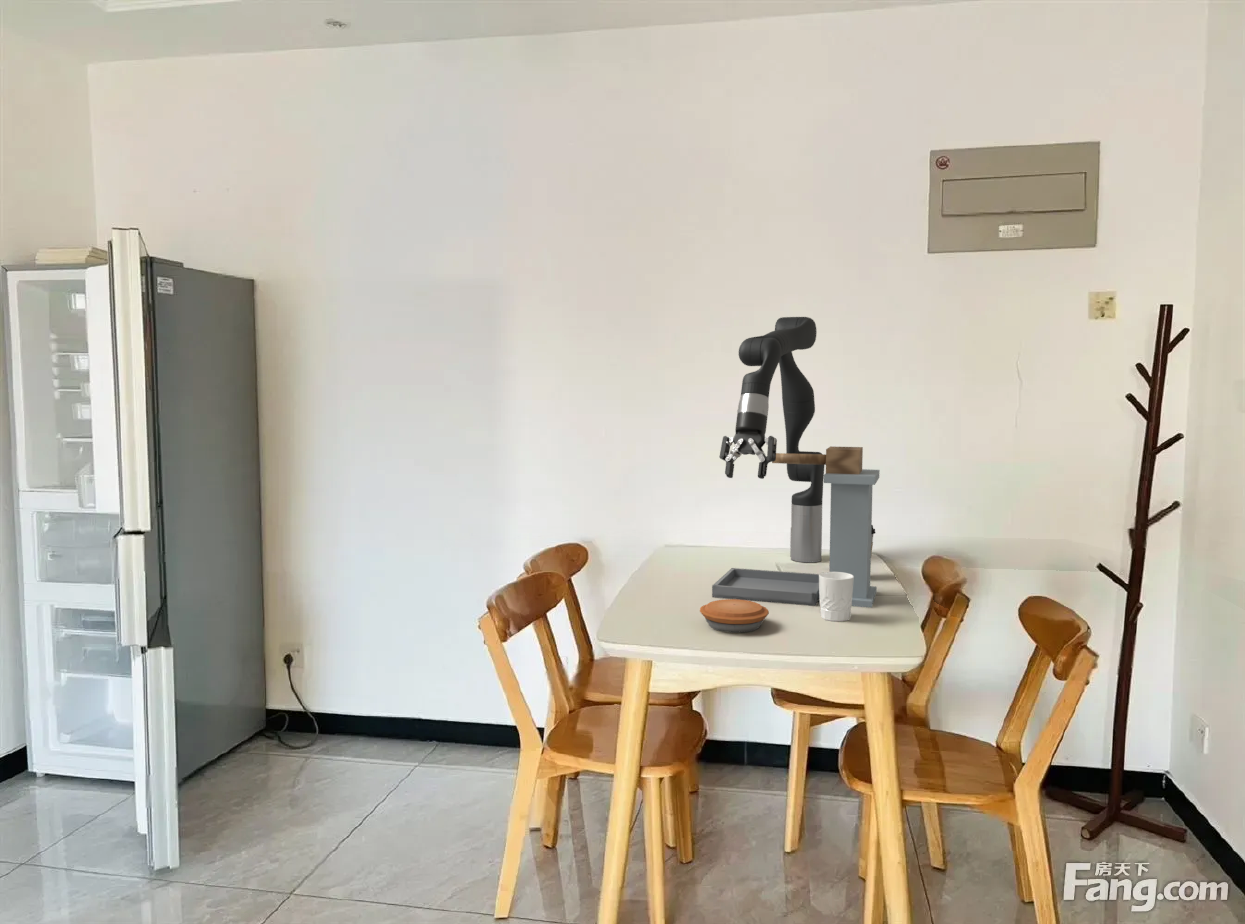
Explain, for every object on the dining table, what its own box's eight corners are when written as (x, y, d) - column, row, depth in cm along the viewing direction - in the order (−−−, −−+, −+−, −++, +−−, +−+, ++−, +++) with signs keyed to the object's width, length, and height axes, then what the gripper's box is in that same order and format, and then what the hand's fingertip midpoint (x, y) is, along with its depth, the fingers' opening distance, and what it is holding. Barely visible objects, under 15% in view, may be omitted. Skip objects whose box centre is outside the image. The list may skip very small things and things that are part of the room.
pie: (780, 632, 191) (781, 610, 191) (715, 638, 187) (715, 616, 187) (751, 614, 206) (751, 593, 206) (689, 619, 202) (689, 598, 201)
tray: (712, 597, 222) (712, 585, 221) (731, 578, 242) (731, 567, 242) (815, 606, 213) (815, 594, 212) (826, 585, 233) (827, 574, 233)
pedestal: (821, 603, 215) (823, 474, 212) (829, 588, 230) (831, 468, 227) (871, 607, 211) (875, 476, 208) (876, 592, 226) (879, 469, 223)
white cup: (854, 614, 205) (855, 573, 204) (851, 623, 198) (852, 580, 197) (820, 611, 207) (820, 570, 207) (816, 620, 200) (816, 577, 199)
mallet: (769, 471, 220) (769, 447, 219) (775, 468, 228) (776, 445, 228) (859, 474, 213) (859, 449, 212) (862, 470, 221) (862, 447, 220)
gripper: (784, 418, 216) (777, 481, 213) (733, 419, 224) (725, 480, 221) (772, 409, 210) (764, 475, 207) (720, 410, 218) (712, 473, 215)
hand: (744, 477), depth 214 cm, fingers open, 8 cm apart
